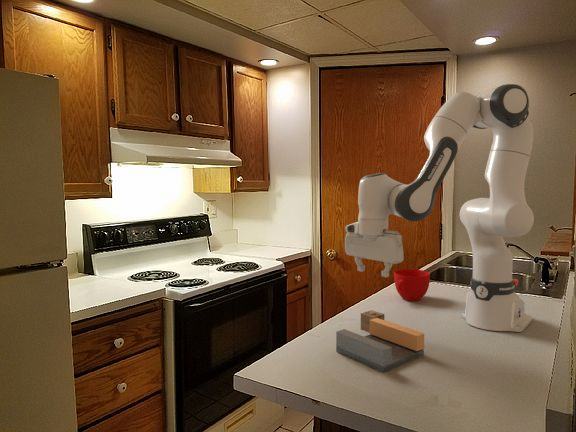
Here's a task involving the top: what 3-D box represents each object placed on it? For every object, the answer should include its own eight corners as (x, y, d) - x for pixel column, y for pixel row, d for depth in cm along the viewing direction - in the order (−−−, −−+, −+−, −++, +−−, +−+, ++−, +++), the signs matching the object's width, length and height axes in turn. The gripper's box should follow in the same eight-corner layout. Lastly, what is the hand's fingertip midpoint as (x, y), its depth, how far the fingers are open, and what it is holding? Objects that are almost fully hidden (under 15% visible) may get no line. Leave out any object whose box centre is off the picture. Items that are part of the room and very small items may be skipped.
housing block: (371, 325, 135) (371, 309, 134) (384, 330, 131) (384, 313, 130) (360, 329, 132) (360, 312, 131) (373, 334, 128) (373, 316, 127)
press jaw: (376, 331, 125) (376, 317, 124) (424, 348, 112) (424, 333, 112) (369, 333, 123) (369, 319, 123) (417, 351, 110) (417, 336, 110)
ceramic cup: (382, 302, 159) (382, 275, 158) (403, 292, 172) (403, 267, 171) (416, 308, 151) (416, 280, 150) (435, 297, 164) (435, 271, 163)
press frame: (376, 337, 125) (376, 318, 124) (423, 355, 112) (424, 334, 112) (336, 351, 115) (336, 331, 115) (383, 372, 103) (383, 350, 102)
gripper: (408, 230, 122) (408, 278, 123) (355, 224, 138) (355, 267, 139) (394, 232, 118) (393, 282, 119) (341, 226, 134) (341, 269, 136)
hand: (372, 273), depth 130 cm, fingers open, 8 cm apart
